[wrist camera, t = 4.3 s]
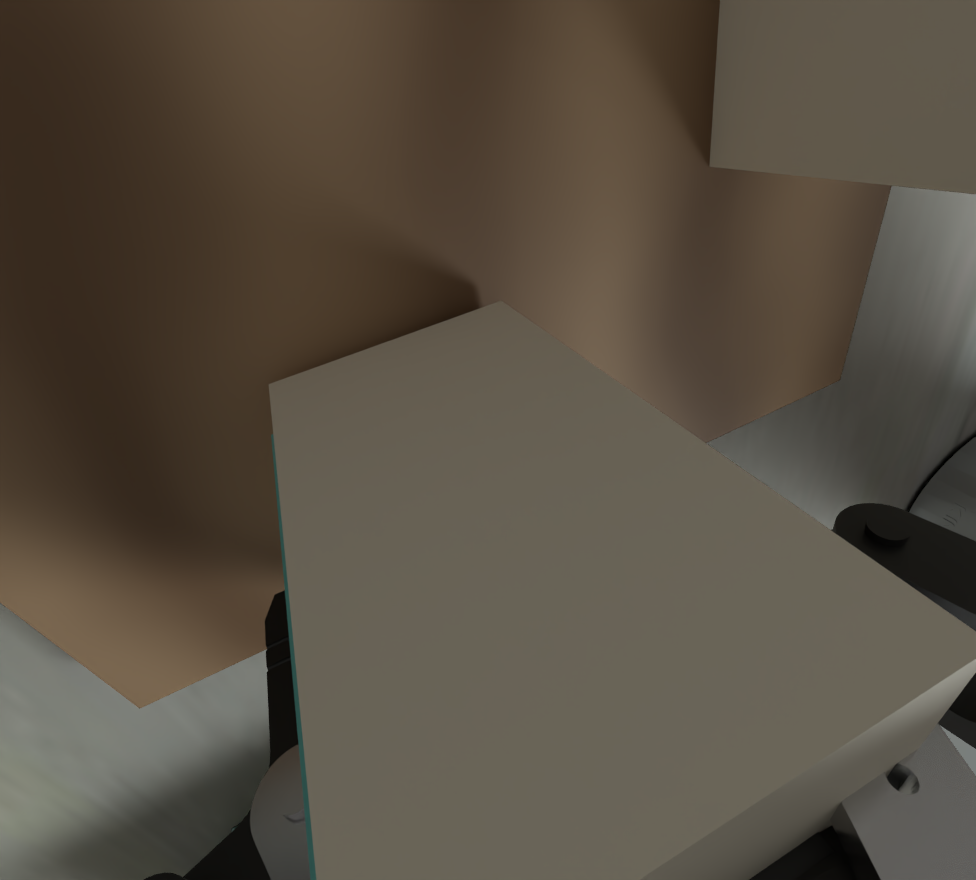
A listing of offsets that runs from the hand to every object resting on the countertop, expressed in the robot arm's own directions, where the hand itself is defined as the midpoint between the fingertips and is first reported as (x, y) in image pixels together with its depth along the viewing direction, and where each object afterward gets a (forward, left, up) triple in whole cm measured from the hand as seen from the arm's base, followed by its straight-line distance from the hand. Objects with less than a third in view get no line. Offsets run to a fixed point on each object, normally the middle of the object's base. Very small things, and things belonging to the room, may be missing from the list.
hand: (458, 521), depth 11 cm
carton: (0, 0, -2) cm, 2 cm away
